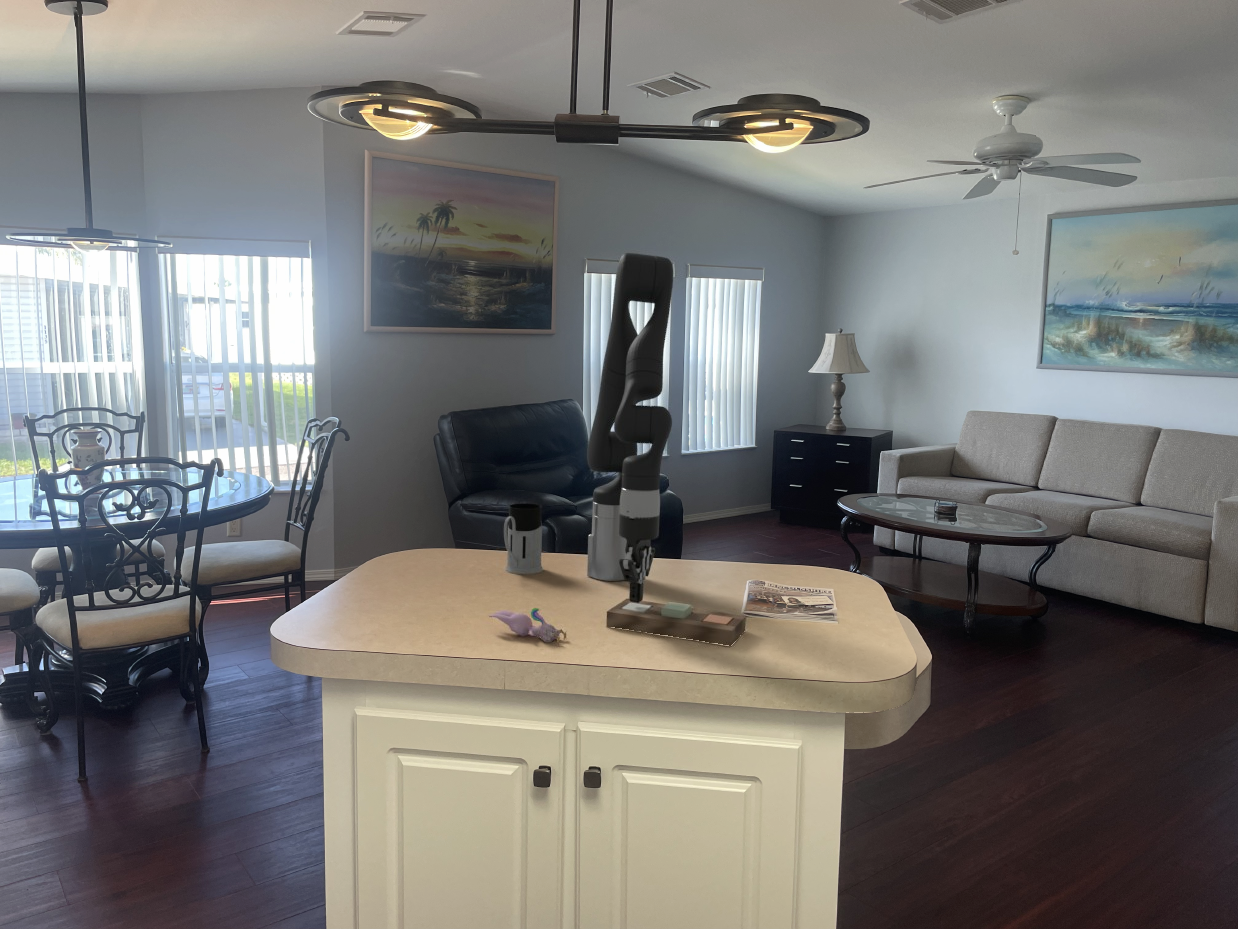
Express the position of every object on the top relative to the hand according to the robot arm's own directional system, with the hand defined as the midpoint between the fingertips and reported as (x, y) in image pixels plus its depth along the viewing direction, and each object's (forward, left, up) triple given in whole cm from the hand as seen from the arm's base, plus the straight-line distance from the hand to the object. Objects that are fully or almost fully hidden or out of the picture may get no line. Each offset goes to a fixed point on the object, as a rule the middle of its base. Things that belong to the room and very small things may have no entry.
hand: (635, 601), depth 170 cm
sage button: (+8, 0, -3) cm, 9 cm away
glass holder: (-38, +23, -4) cm, 44 cm away
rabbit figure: (-14, -17, -5) cm, 23 cm away
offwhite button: (0, 0, -4) cm, 4 cm away
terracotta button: (+16, 0, -4) cm, 17 cm away
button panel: (+8, 0, -4) cm, 9 cm away
